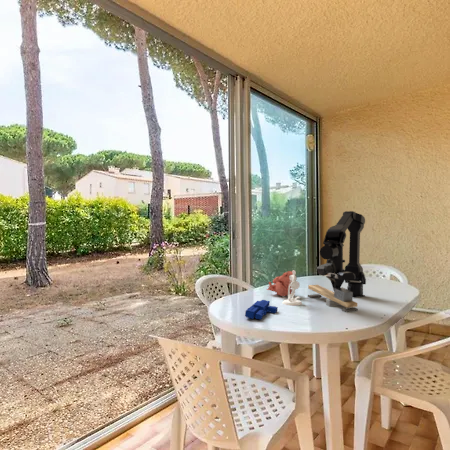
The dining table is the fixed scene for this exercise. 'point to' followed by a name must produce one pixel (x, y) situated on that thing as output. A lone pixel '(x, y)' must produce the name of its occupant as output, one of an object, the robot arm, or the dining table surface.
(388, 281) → the dining table surface
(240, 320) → the dining table surface
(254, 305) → the toy gun
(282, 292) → the anatomical model
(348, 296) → the block
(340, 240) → the robot arm
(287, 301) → the figurine
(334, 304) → the stand
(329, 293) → the beam
